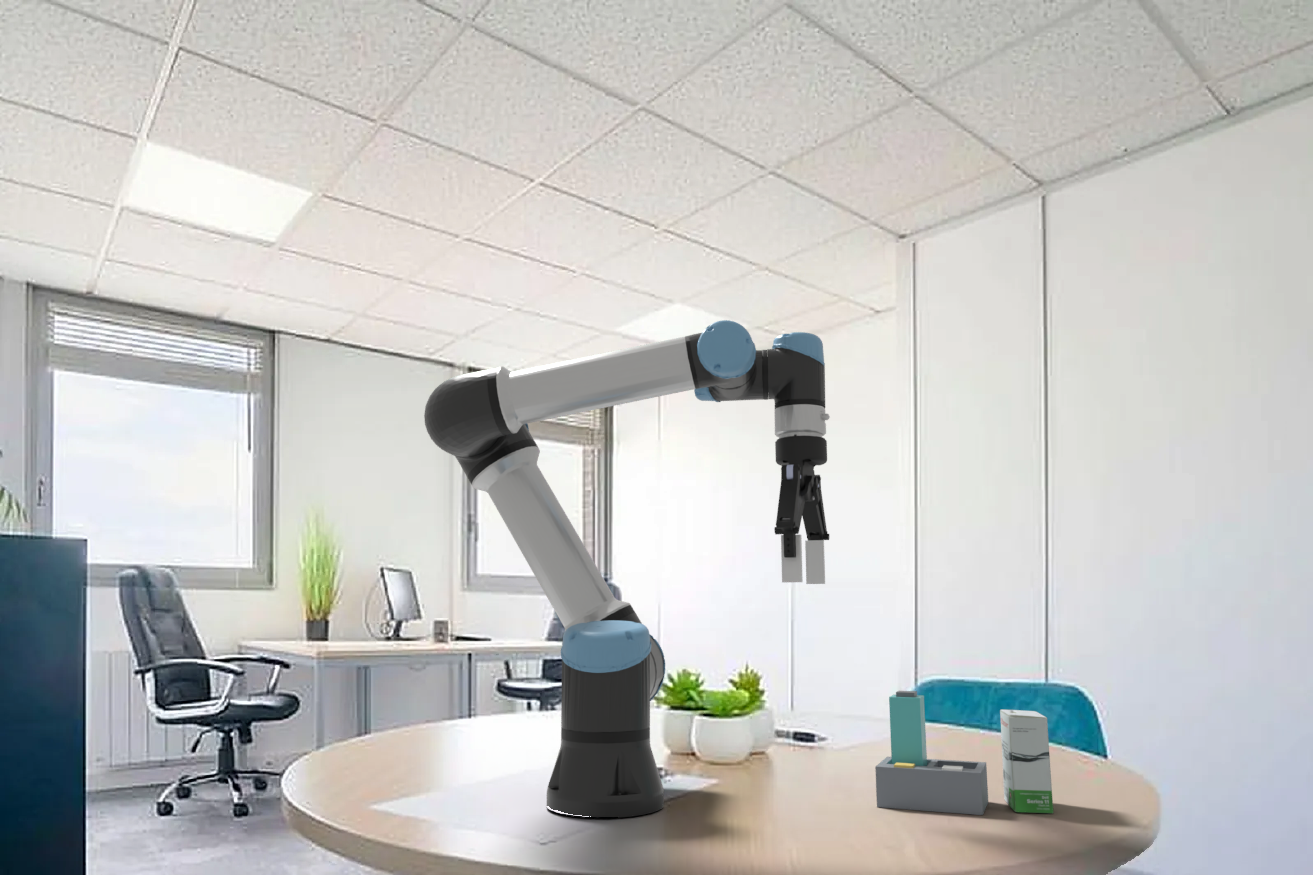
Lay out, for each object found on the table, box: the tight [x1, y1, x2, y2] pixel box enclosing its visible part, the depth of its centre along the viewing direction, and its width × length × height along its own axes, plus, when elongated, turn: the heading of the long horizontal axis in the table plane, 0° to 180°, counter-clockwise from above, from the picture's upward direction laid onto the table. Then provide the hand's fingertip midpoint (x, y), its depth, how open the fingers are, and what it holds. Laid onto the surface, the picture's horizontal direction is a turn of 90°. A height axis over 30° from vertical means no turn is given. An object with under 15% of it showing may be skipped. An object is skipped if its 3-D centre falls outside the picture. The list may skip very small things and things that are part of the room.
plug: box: [888, 690, 928, 766], centre depth 131 cm, size 4×4×14 cm
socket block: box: [875, 756, 989, 816], centre depth 129 cm, size 13×9×5 cm
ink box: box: [999, 709, 1054, 814], centre depth 127 cm, size 9×5×12 cm, turn 168°
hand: (804, 583), depth 142 cm, fingers open, 13 cm apart
